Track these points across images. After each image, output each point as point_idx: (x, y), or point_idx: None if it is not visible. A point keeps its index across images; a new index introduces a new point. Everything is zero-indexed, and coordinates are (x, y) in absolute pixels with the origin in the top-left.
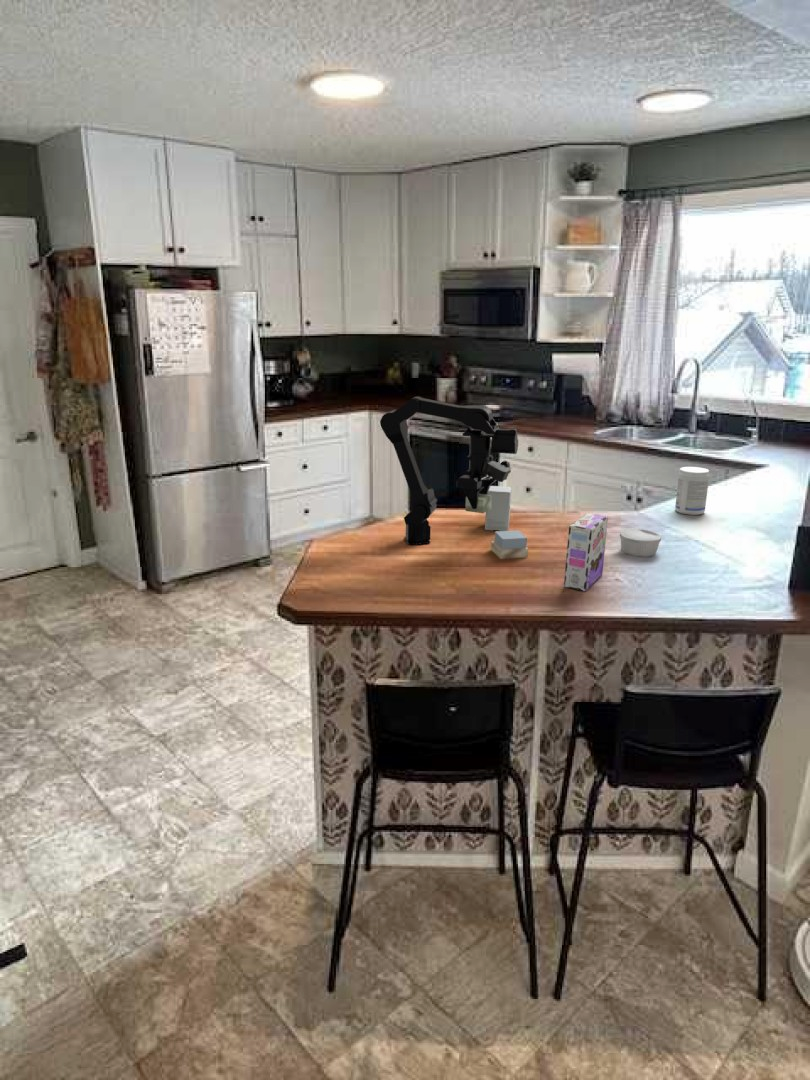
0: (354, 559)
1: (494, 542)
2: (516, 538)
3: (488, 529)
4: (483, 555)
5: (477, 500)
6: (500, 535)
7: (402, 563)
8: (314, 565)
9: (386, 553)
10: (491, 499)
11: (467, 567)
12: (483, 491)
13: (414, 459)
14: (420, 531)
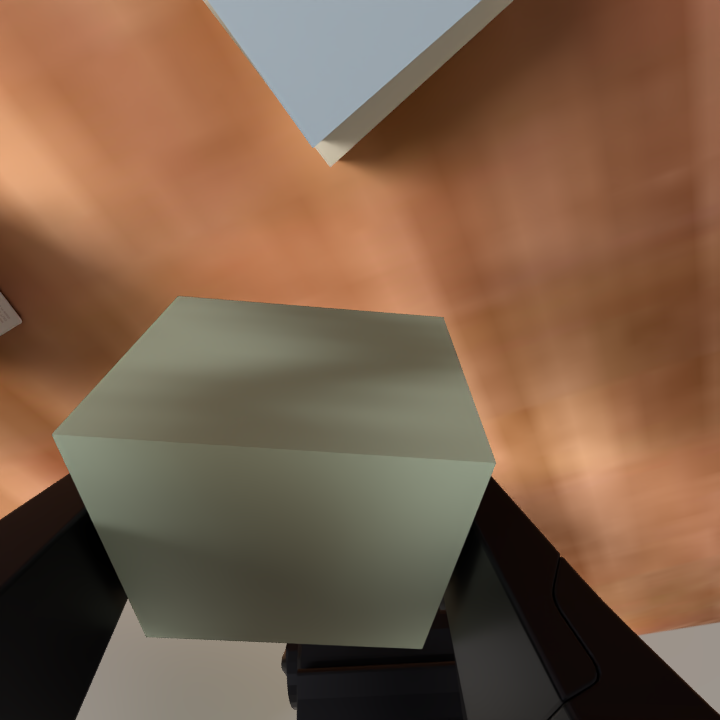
0: (636, 570)
1: (345, 132)
2: None
3: (6, 304)
4: (461, 167)
5: (497, 520)
6: (411, 40)
7: (665, 459)
8: (702, 615)
9: (555, 528)
10: (106, 374)
11: (710, 184)
12: (62, 603)
13: None
14: None
